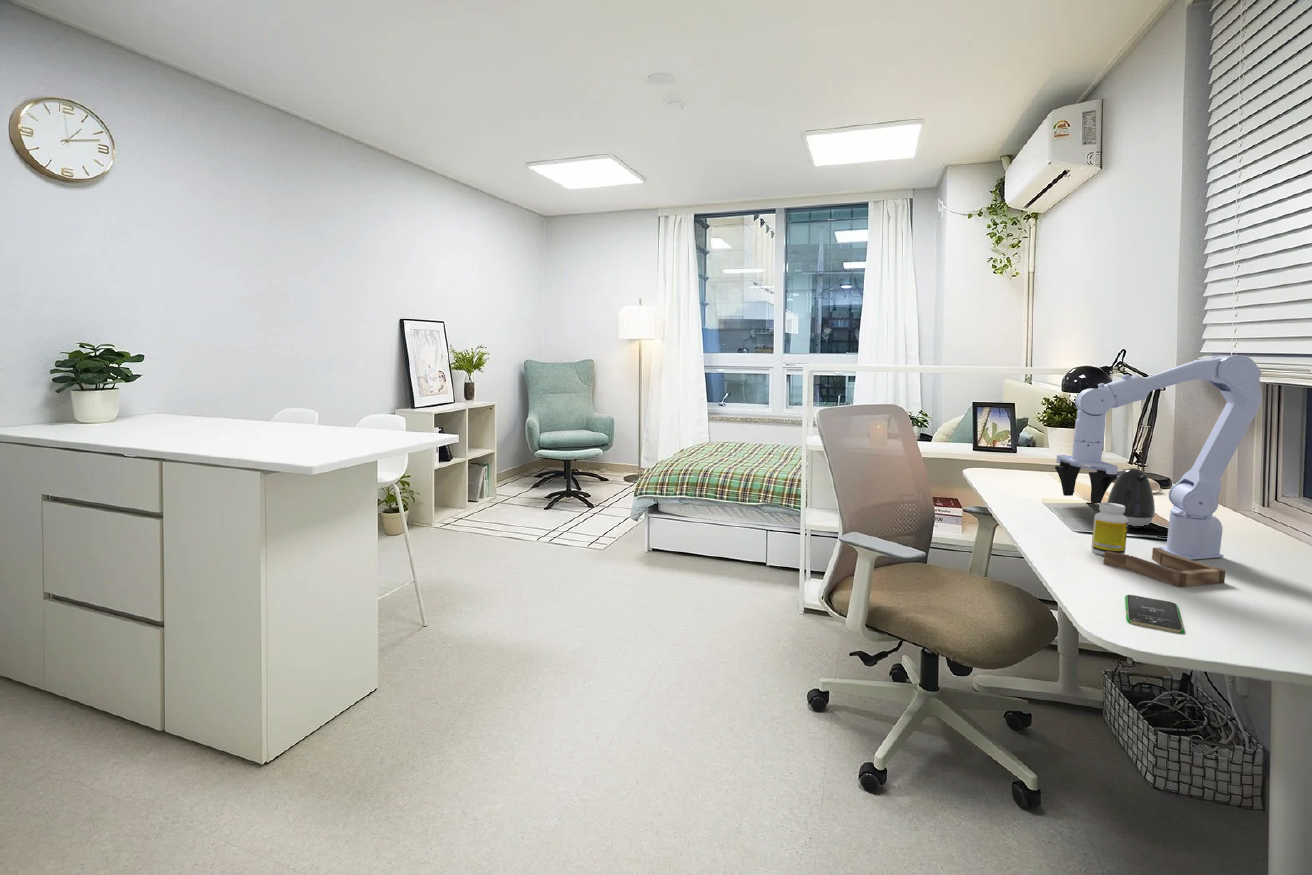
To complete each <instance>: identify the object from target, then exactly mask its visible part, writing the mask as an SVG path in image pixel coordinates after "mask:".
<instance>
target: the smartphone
mask: <svg viewBox="0 0 1312 875" xmlns="http://www.w3.org/2000/svg"><path fill="white" fill-rule="evenodd" d="M1124 600H1125V601H1124V602H1125V603H1124V605H1125V618H1126V619H1127V620H1126V619H1125V620H1126V622H1127V621H1128V622H1129V623H1128V622H1127V623H1128V624H1130V623H1132V624H1131V625H1134V624H1137V625H1136V626H1138V625H1142V626H1141V627H1144V626H1146V627H1145V628H1149V627H1150V629H1154V628H1155V629H1154V630H1159V629H1162V630H1161V631H1164V630H1166V631H1165V632H1169V631H1171V632H1170V633H1176V634H1185V629H1184V626H1183V623H1182V616H1181V613H1180V610H1179V606H1178V604H1177V603H1175V602H1172V601H1167V600H1162V599H1156V598H1151V597H1145V596H1139V595H1135V594H1127V595H1125V596H1124Z"/></svg>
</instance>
